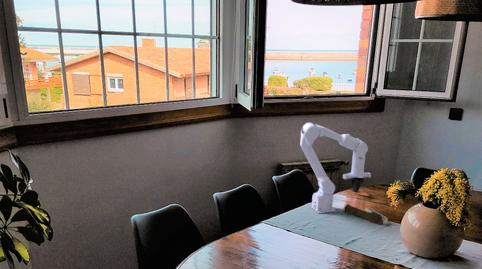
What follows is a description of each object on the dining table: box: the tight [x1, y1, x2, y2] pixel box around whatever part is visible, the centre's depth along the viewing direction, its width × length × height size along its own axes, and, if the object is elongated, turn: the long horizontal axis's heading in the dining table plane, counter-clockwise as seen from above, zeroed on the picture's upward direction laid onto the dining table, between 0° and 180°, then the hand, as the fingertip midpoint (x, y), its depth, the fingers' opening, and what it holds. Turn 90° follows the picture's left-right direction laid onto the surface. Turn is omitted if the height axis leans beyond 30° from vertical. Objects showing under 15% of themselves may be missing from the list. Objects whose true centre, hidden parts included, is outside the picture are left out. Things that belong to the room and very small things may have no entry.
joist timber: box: [364, 207, 388, 225], centre depth 167 cm, size 3×12×3 cm, turn 17°
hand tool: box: [344, 203, 384, 226], centre depth 167 cm, size 19×4×5 cm, turn 38°
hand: (355, 191), depth 175 cm, fingers closed
